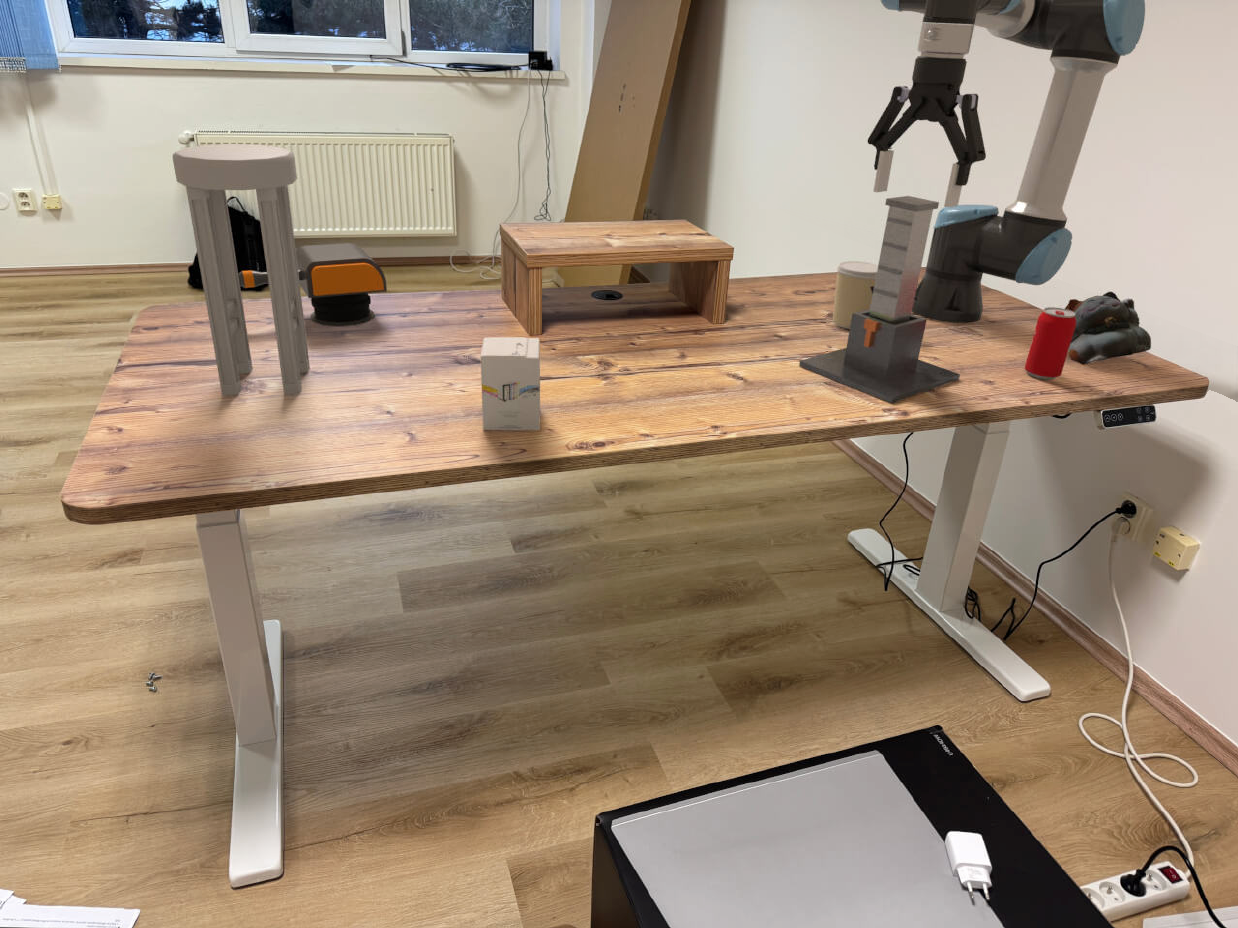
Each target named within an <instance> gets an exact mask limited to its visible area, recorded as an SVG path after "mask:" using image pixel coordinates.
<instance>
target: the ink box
mask: <svg viewBox="0 0 1238 928" xmlns="http://www.w3.org/2000/svg"><path fill="white" fill-rule="evenodd" d="M540 354H541V353H540V338H539V337H532V338H531V337H528V338H527V337H524V336H523V337H520V336H510V337H509V336H508V337H507V336H506V337H484V338H483V341H482V346H481V351H480V377H481V382H480V383H481V384H480V385H481V405H482V407H481V408H482V410H481V411H482V430H483V431H540V428H541V427H540V423H541V422H540V421H541V420H540V417H541V416H540V415H541V414H540V413H541V363H540V362H541V359H540Z"/></svg>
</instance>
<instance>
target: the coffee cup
mask: <svg viewBox="0 0 1238 928" xmlns="http://www.w3.org/2000/svg"><path fill="white" fill-rule="evenodd" d="M877 270H878V264H875V263H871V262H866V261H859V260H857V261H856V260H853V261H851V260H850V261H843V262H840V263H839V265H838V266H837V268H836V271H837V274H836V282H835V290H834V302H833V312H832V322H833V323H832V324H834V325H835V326H836V327H840V328H843V329H849V330H850V325H851V320H852V314H853V313H856V312H860V311H864V310H868V309H870V307H871V301H872V296H873V291H874V285H875V280H876V275H877Z"/></svg>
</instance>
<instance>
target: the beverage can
mask: <svg viewBox="0 0 1238 928" xmlns="http://www.w3.org/2000/svg"><path fill="white" fill-rule="evenodd" d="M1075 326H1076V319H1075V313H1074V312H1073V311H1070V310H1067V309H1065V308H1063V307H1055V306H1054V307H1052V306H1051V307H1050V306H1049V307H1048V306H1047V307H1045V308H1044V309H1043V311H1042V312H1041V313H1040V314H1039V316H1038V317H1037V320H1036V324H1035V329H1034V333H1033V336H1032V339H1031V343H1030V347H1029V351H1028V354H1027V358H1026V361H1025V365H1024V370H1025V371H1026V372H1027V374H1028V375H1030V376H1031V377H1032V378H1033V377H1034V378H1036V379H1040V380H1041V379H1042V380H1054V379H1057V378H1060V376H1062V373H1063V369H1064V366H1065V363H1066V359H1067V356H1068V353H1069V346H1070V343H1071V340H1072V336H1073V333H1074V330H1075Z"/></svg>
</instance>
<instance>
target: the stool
mask: <svg viewBox="0 0 1238 928" xmlns="http://www.w3.org/2000/svg"><path fill="white" fill-rule="evenodd" d="M172 162H173V168H174V169H173V170H174V173H175V178H176V182H177V183H178V184H180V185H182V186H185V188H186V195H187V200H188V206H189V213H190V217H191V218H190V219H191V223H192V224H191V225H192V228H193V229H192V230H193V235H194V243H195V247H196V252H197V258H198V259H197V260H198V264H199V269H200V275H201V281H202V282H201V283H202V287H203V293H204V297H205V299H204V300H205V305H206V311H207V316H208V321H209V322H208V323H209V327H210V332H211V338H212V339H211V340H212V345H213V349H214V357H215V362H216V363H215V364H216V366H217V372H218V378H219V384H220V389H221V396H222V397H224V396H225V397H228V396H229V397H230V396H231V397H232V396H239V395H240V393H241V391H242V386H241V380H240V375H241V374H242V375H243V374H245V375H246V374H251V373H252V372H253V369H254V368H253V363H252V356H251V355H252V354H251V350H250V344H249V343H250V342H249V337H248V329H247V323H246V317H245V315H246V314H245V311H244V310H245V309H244V303H243V297H242V296H243V295H242V290H241V286H240V283H239V277H238V274H239V271H238V265H237V257H236V252H235V251H236V250H235V245H234V238H233V232H232V226H231V219H230V214H229V208H228V207H229V205H228V200H227V195H226V191H251V190H255V194H256V200H257V202H256V203H257V208H258V209H257V210H258V215H259V222H260V229H261V236H262V244H263V245H262V246H263V251H264V259H265V264H266V272H267V274H268V281H269V284H268V287H269V295H270V301H271V302H270V303H271V311H272V317H273V324H274V332H275V338H276V345H277V352H278V360H279V366H280V375H281V381H282V389H283V395H301V392H302V389H303V388H302V381H301V380H302V379H301V374H303V373H304V374H305V373H309V371H310V369H311V366H310V358H309V349H308V342H307V333H306V325H305V317H304V309H303V301H302V292H301V285H300V282H299V274H298V266H297V258H296V250H297V249H296V243H295V236H294V234H295V233H294V227H293V226H294V225H293V218H292V211H291V210H292V209H291V201H290V193H289V187H288V185H292V184H294V183H295V182H296V181H297V179H298V177H297V176H298V174H297V165H296V159H295V153H294V152H292V150H288V149H286V148H283V147H279V146H272V145H271V146H270V145H264V144H250V143H249V144H247V143H246V144H245V143H244V144H242V143H222V144H221V143H220V144H204V145H197V146H189V147H183V148H180V149H179V150H176V151H175V152H173V154H172ZM300 373H301V374H300ZM239 374H240V375H239Z"/></svg>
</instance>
